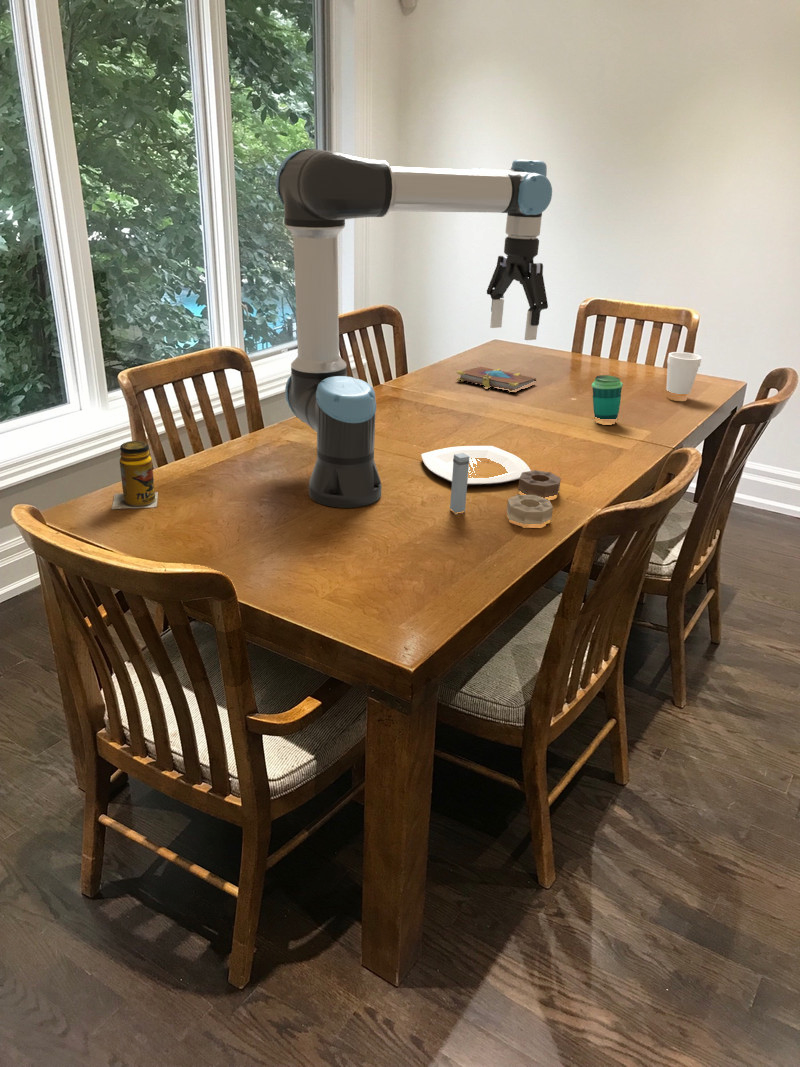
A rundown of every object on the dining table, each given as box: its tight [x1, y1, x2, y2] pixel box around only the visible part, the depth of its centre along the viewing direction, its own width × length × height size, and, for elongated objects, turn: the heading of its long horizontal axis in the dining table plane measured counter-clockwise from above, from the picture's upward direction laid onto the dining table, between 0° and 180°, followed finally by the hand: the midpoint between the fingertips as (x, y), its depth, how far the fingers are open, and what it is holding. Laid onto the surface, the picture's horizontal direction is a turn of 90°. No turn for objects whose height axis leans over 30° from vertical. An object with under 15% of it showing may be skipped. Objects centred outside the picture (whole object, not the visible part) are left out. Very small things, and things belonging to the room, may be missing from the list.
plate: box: [420, 445, 532, 486], centre depth 186 cm, size 23×23×2 cm
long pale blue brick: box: [449, 453, 469, 513], centre depth 163 cm, size 2×2×12 cm
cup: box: [591, 374, 624, 419], centre depth 220 cm, size 8×8×12 cm
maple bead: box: [506, 494, 554, 524], centre depth 162 cm, size 8×8×4 cm
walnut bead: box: [517, 469, 562, 498], centre depth 175 cm, size 8×8×4 cm
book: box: [455, 366, 537, 391], centre depth 253 cm, size 16×25×5 cm, turn 54°
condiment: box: [111, 440, 159, 510], centre depth 161 cm, size 7×8×12 cm
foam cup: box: [665, 351, 702, 394], centre depth 243 cm, size 10×9×13 cm
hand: (512, 333), depth 190 cm, fingers open, 13 cm apart
